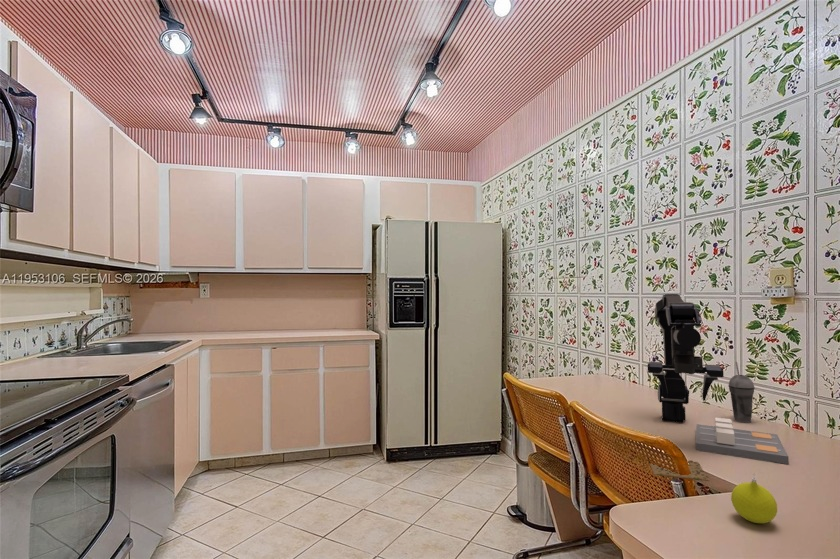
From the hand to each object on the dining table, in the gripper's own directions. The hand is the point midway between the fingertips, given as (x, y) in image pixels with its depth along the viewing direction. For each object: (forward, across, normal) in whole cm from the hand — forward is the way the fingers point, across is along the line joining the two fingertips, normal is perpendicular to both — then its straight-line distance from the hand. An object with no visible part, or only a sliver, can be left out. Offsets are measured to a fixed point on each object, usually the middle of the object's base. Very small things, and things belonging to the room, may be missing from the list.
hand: (685, 399), depth 126 cm
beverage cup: (+12, +18, +34) cm, 41 cm away
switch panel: (+13, +13, +6) cm, 19 cm away
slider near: (+11, +9, 0) cm, 14 cm away
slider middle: (+11, +10, +6) cm, 16 cm away
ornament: (+15, +9, -42) cm, 46 cm away
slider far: (+10, +10, +12) cm, 19 cm away
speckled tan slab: (+14, -3, -20) cm, 25 cm away
